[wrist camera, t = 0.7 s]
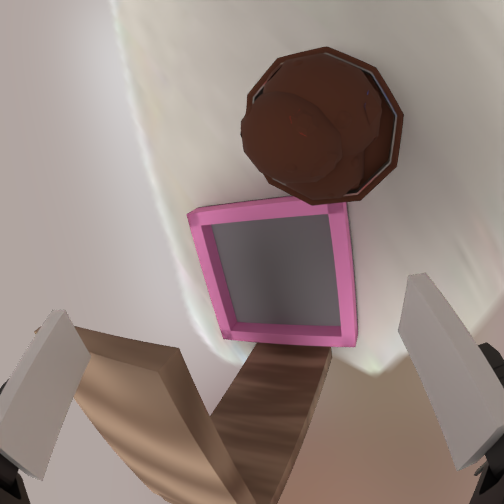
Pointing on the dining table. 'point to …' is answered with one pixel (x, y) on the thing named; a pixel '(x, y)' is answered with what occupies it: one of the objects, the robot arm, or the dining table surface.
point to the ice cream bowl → (322, 126)
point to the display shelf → (202, 417)
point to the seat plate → (279, 270)
